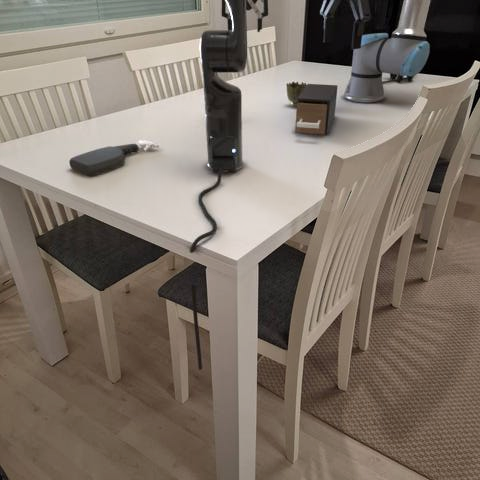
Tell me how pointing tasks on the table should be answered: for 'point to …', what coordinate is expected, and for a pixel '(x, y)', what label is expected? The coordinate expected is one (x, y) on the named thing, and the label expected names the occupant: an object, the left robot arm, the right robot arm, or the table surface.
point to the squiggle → (399, 77)
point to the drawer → (311, 117)
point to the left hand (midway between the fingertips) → (244, 32)
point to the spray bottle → (106, 157)
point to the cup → (294, 91)
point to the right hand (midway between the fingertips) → (341, 45)
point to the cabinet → (321, 99)
